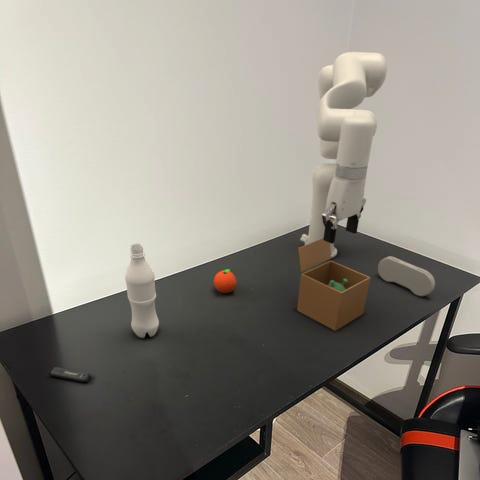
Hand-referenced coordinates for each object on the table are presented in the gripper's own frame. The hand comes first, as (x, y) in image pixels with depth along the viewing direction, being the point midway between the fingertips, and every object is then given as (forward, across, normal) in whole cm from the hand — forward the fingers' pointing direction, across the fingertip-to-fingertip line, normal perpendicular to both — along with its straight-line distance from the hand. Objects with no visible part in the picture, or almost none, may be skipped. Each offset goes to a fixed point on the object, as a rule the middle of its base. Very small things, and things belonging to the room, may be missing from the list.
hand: (340, 236), depth 119 cm
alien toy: (+23, 0, +1) cm, 23 cm away
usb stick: (+23, +70, -21) cm, 76 cm away
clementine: (+24, +16, -28) cm, 40 cm away
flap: (+7, 0, -7) cm, 10 cm away
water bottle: (+23, +46, -25) cm, 58 cm away
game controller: (+24, -29, +7) cm, 38 cm away
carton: (+23, +1, +1) cm, 23 cm away
